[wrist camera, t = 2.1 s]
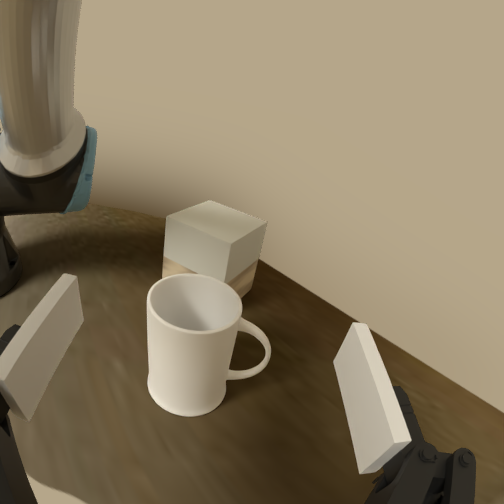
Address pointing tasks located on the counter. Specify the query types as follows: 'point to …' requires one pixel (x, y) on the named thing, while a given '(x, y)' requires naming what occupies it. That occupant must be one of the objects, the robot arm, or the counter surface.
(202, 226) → the tower top
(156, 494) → the counter surface
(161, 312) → the mug
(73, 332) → the robot arm
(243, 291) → the block
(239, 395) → the counter surface
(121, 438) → the counter surface
